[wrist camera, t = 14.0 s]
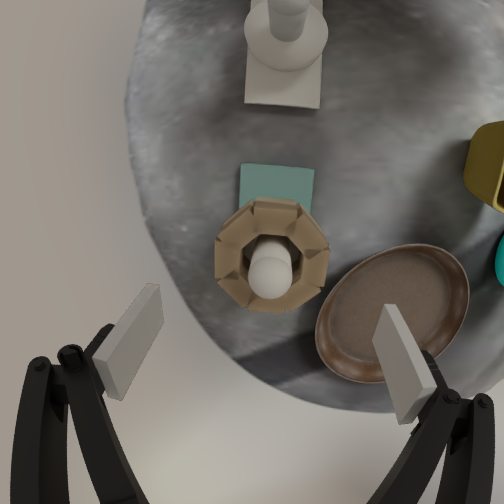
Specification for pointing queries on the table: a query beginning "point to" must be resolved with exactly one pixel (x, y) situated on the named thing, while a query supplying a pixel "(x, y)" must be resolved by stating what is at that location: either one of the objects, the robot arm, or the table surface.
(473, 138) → the flower pot
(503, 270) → the donuts
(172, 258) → the table surface
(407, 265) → the plant saucer
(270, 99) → the rod stand
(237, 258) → the ring
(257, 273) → the hub stand
